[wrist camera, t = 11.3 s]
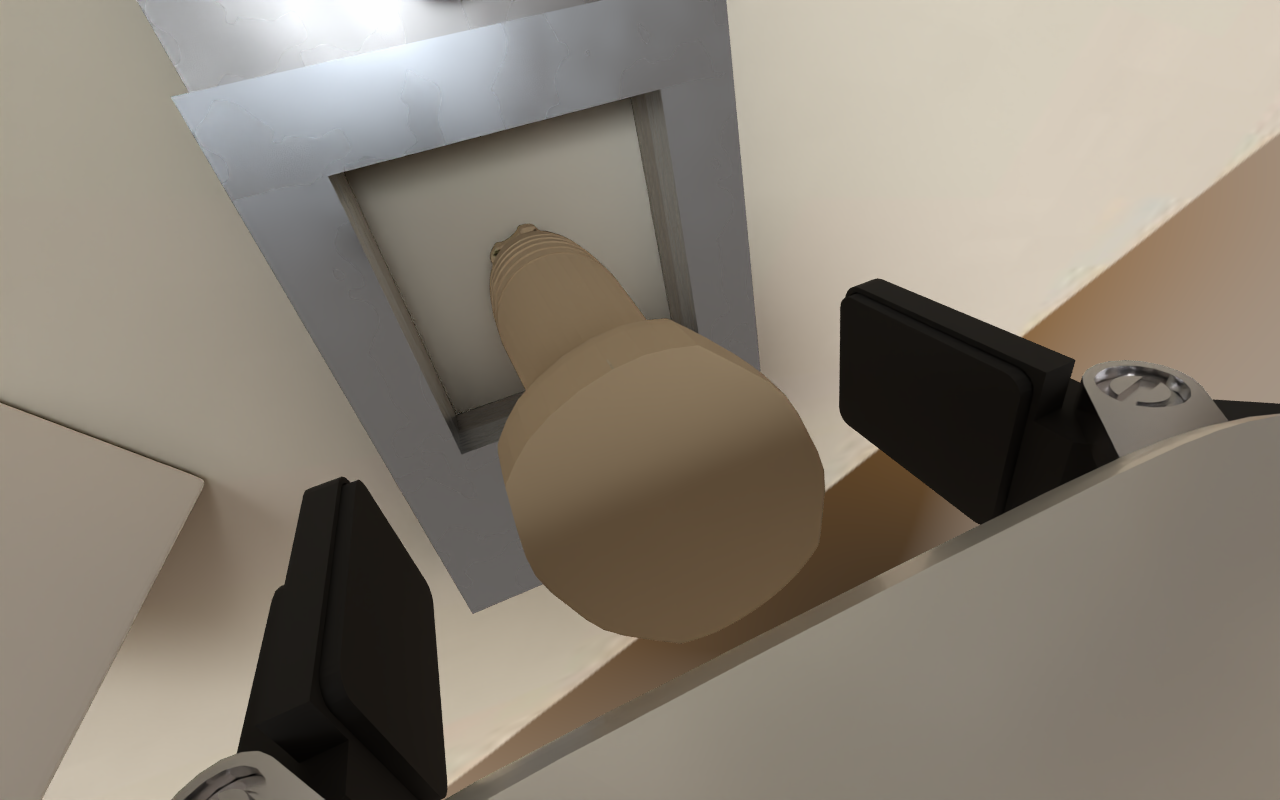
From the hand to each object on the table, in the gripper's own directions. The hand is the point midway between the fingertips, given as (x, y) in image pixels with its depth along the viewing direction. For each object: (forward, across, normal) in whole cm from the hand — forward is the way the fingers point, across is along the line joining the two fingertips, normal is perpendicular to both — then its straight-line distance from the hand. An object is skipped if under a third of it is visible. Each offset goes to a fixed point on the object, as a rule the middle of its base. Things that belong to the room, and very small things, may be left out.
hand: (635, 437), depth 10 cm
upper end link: (+13, -1, +3) cm, 13 cm away
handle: (+13, 0, 0) cm, 13 cm away
